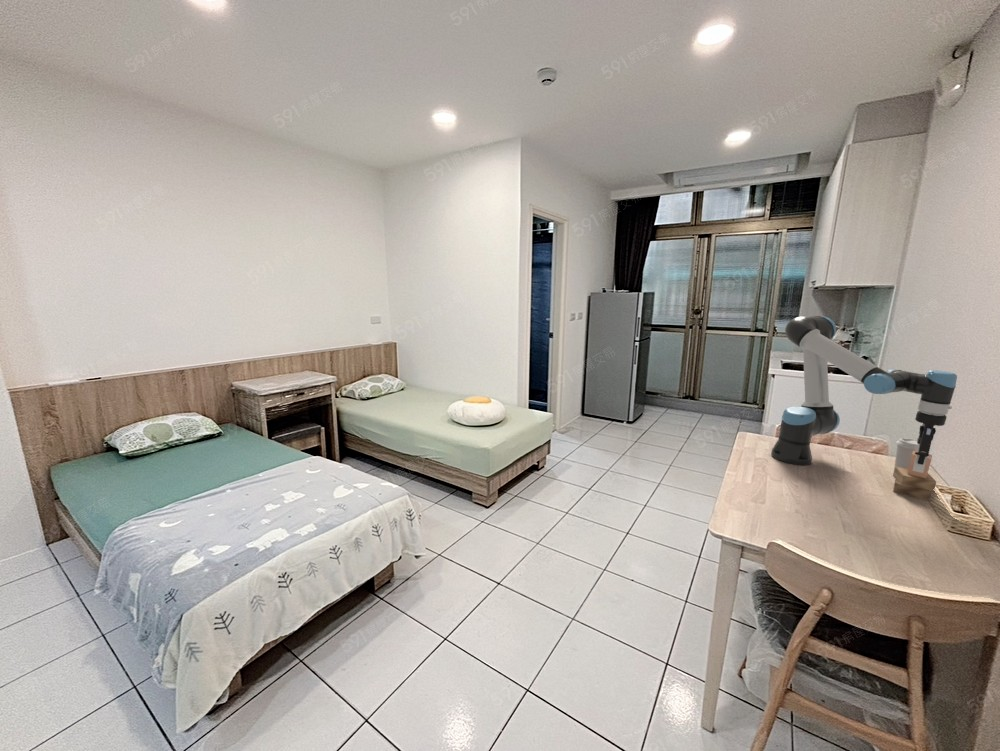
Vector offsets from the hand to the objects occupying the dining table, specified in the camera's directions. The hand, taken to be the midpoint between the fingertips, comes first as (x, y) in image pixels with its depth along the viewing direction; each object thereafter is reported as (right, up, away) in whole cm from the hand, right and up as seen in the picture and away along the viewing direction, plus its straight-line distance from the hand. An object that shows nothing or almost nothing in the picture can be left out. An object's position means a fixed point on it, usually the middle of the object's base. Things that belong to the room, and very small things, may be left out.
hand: (917, 466), depth 152 cm
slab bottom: (0, -11, +3) cm, 11 cm away
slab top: (0, -7, +2) cm, 7 cm away
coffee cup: (+12, -8, +17) cm, 22 cm away
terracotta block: (0, -3, 0) cm, 3 cm away
